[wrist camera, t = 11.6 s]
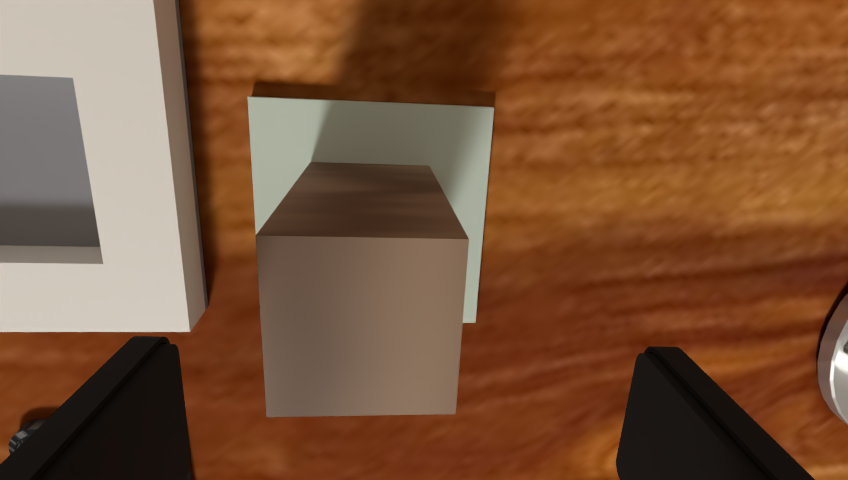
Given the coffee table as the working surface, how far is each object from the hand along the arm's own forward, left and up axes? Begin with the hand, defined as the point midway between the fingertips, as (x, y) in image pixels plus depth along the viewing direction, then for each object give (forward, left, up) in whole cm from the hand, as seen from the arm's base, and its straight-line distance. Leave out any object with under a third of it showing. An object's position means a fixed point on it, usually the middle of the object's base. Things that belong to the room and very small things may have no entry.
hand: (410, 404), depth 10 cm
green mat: (+1, 0, -13) cm, 13 cm away
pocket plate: (+15, -2, -13) cm, 20 cm away
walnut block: (+1, 0, -13) cm, 13 cm away
